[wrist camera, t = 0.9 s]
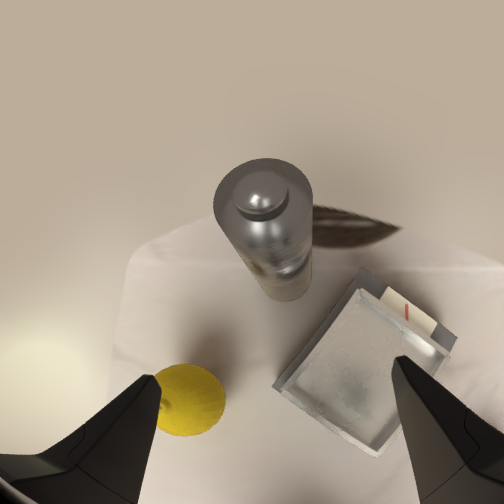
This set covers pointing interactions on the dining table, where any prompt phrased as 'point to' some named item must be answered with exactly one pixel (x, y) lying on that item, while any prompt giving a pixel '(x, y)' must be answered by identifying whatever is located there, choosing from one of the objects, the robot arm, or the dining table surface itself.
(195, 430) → the lemon
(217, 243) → the dining table surface
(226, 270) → the dining table surface
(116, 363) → the dining table surface
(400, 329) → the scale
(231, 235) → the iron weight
